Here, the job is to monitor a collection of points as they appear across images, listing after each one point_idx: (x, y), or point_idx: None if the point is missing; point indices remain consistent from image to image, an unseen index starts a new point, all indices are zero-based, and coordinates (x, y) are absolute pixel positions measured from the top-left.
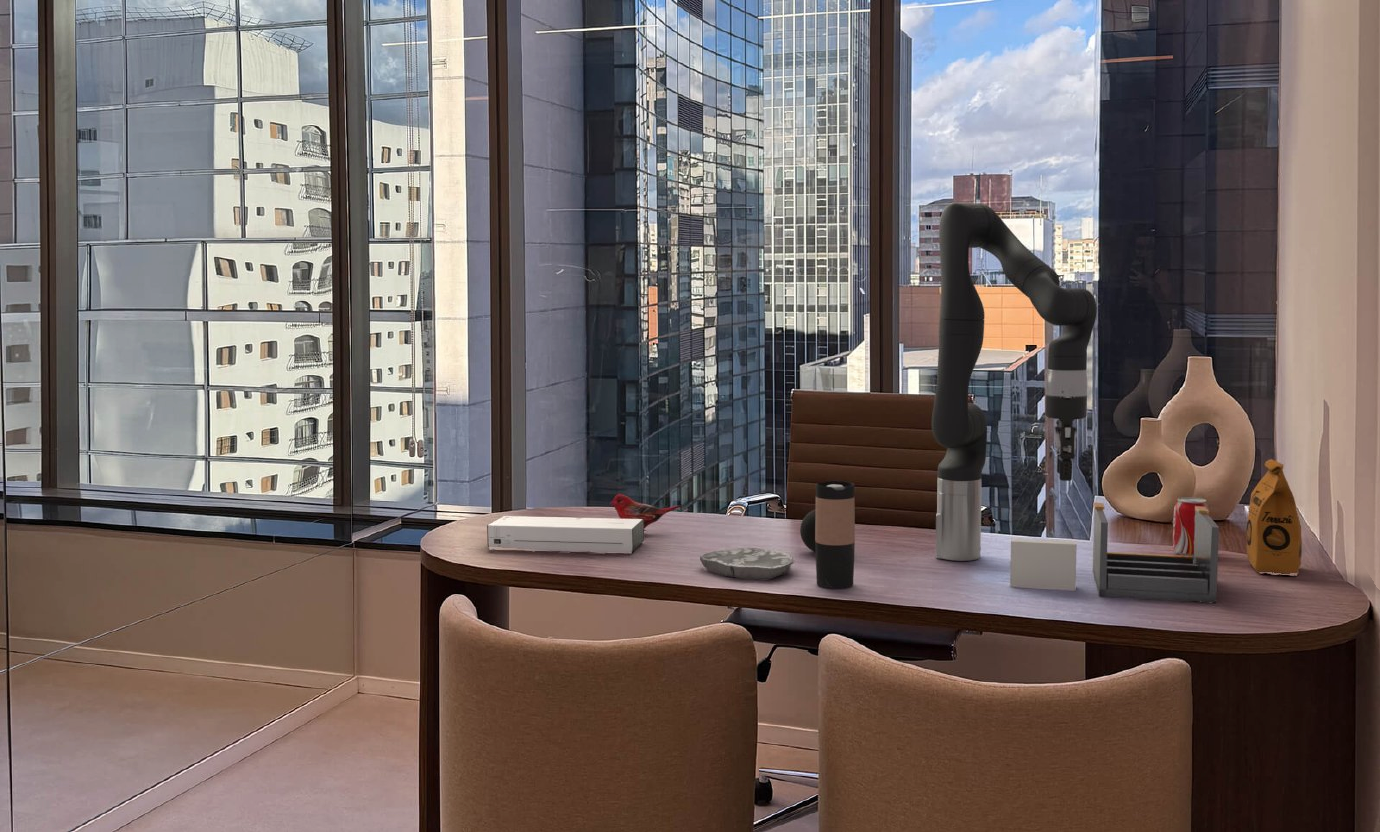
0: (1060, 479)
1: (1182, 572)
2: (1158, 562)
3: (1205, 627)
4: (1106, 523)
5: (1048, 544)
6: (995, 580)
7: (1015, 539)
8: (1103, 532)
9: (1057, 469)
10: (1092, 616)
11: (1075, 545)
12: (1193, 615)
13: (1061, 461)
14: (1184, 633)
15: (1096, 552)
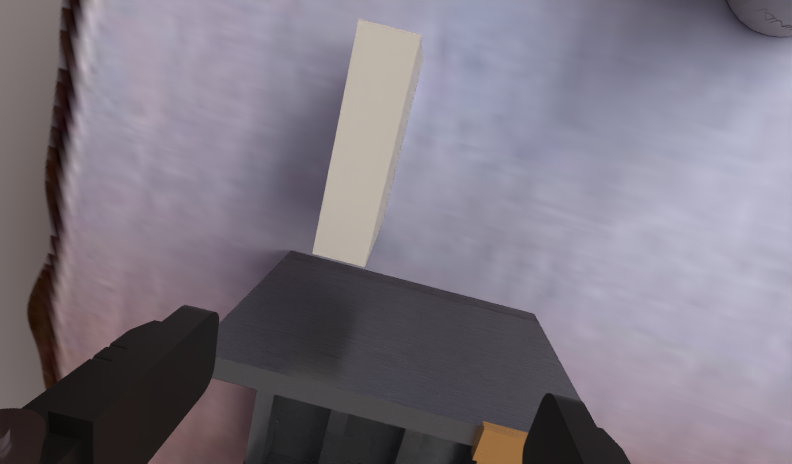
0: (189, 307)
1: (320, 454)
2: (416, 444)
3: None
4: None
5: (330, 163)
6: (453, 20)
7: (395, 48)
8: None
9: (557, 409)
10: (121, 182)
11: (313, 248)
12: None
13: (54, 421)
14: (40, 314)
15: (413, 320)
